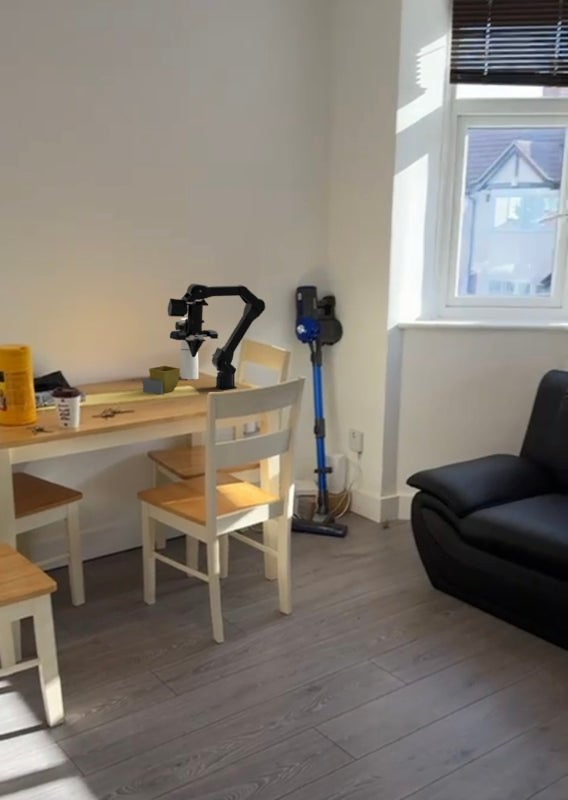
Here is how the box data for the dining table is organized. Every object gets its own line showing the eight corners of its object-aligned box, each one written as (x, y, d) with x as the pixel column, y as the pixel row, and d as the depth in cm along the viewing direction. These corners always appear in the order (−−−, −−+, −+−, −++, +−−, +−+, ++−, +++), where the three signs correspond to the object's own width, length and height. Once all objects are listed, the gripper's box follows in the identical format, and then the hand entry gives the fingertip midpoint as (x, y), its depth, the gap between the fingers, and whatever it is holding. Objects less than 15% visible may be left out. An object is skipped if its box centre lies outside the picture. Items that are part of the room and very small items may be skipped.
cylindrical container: (179, 379, 323) (178, 319, 317) (184, 375, 330) (183, 317, 324) (195, 380, 322) (195, 320, 316) (200, 376, 329) (199, 318, 323)
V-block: (158, 387, 307) (158, 375, 305) (163, 394, 295) (163, 381, 294) (141, 388, 304) (140, 376, 303) (145, 395, 293) (145, 382, 292)
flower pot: (181, 390, 302) (180, 368, 300) (165, 394, 295) (164, 371, 293) (165, 387, 307) (164, 365, 305) (148, 391, 301) (148, 368, 298)
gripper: (204, 314, 309) (202, 352, 313) (163, 314, 298) (162, 354, 301) (219, 317, 301) (217, 357, 304) (178, 318, 289) (176, 359, 293)
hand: (193, 356), depth 301 cm, fingers closed
